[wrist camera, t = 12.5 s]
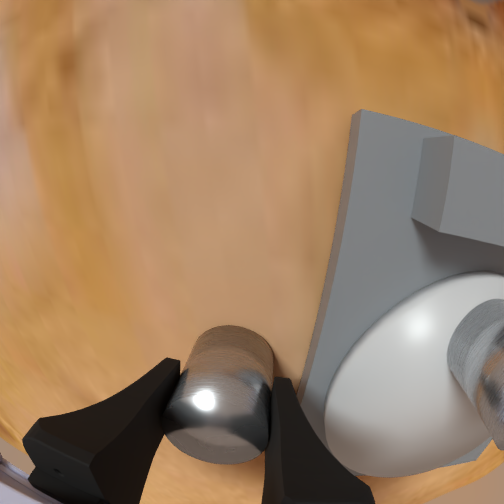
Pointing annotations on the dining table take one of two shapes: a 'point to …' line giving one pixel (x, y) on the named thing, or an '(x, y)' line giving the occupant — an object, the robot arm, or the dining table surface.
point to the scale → (404, 298)
